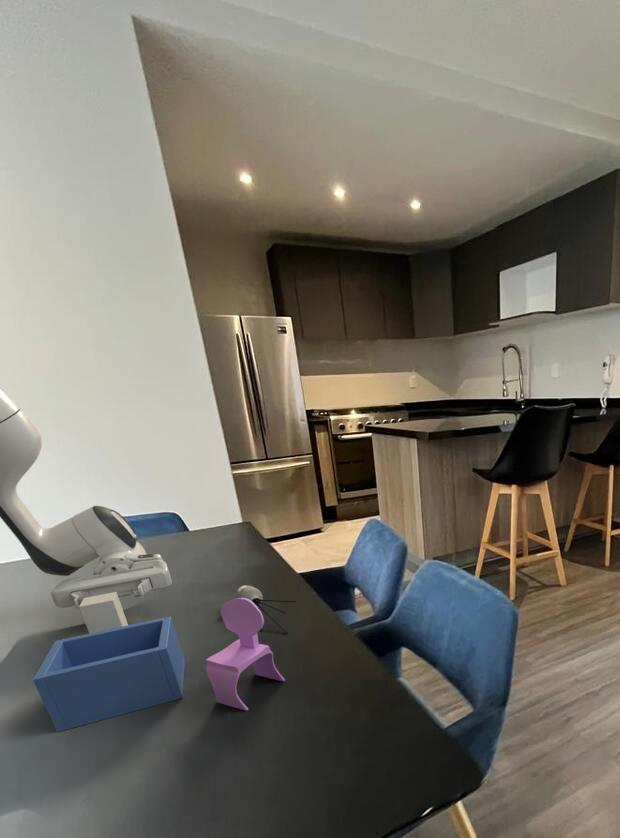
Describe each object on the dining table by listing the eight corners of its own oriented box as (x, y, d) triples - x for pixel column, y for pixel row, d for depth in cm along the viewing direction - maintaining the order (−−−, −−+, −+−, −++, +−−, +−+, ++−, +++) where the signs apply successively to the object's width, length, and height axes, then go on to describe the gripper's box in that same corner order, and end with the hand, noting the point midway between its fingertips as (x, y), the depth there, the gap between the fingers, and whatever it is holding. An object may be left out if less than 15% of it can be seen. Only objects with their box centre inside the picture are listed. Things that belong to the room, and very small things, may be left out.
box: (57, 732, 71) (32, 679, 67) (75, 688, 81) (55, 640, 78) (182, 698, 77) (166, 648, 73) (185, 661, 87) (170, 615, 84)
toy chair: (209, 702, 75) (182, 615, 69) (251, 672, 82) (230, 590, 77) (249, 714, 72) (225, 623, 66) (290, 681, 79) (271, 597, 73)
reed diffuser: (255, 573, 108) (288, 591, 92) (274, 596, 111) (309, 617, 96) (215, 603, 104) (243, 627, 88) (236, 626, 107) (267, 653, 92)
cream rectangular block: (101, 664, 88) (78, 606, 83) (105, 654, 91) (83, 597, 87) (133, 657, 90) (112, 600, 85) (136, 646, 93) (116, 591, 89)
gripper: (55, 571, 100) (36, 595, 88) (168, 552, 107) (164, 572, 96) (66, 599, 102) (49, 626, 91) (175, 578, 110) (173, 601, 98)
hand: (109, 598), depth 93 cm, fingers open, 8 cm apart
